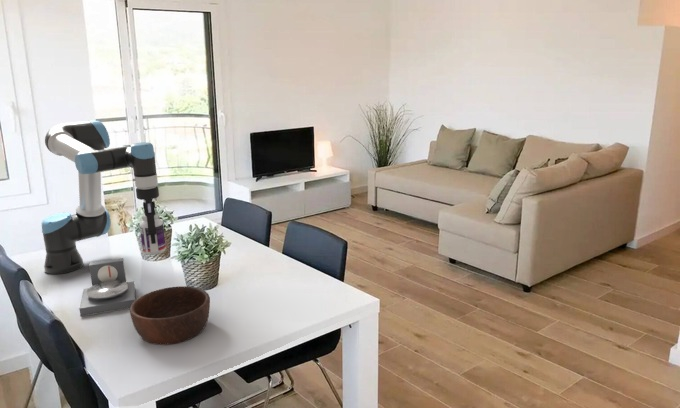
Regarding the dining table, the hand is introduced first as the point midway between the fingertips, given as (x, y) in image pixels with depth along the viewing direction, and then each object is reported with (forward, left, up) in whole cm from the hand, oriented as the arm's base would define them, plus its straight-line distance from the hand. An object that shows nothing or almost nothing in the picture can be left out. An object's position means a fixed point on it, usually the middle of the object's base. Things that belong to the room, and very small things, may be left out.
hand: (154, 247), depth 195 cm
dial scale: (-6, -18, -20) cm, 28 cm away
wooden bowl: (+27, +3, -21) cm, 34 cm away
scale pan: (-5, -18, -17) cm, 25 cm away
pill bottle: (0, 0, -2) cm, 2 cm away
